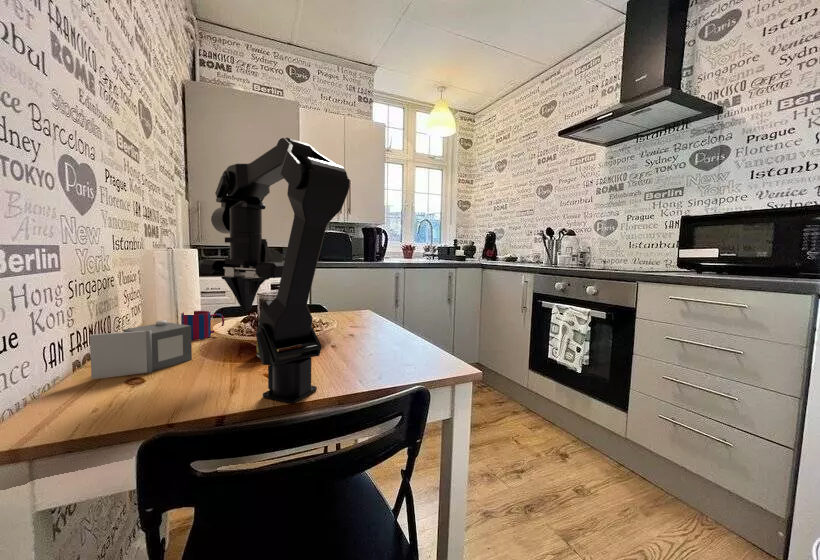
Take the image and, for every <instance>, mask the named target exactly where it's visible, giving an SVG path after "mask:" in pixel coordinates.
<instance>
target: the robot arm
mask: <svg viewBox="0 0 820 560" xmlns="http://www.w3.org/2000/svg"><path fill="white" fill-rule="evenodd" d="M283 179H284V180H285V182H286V183H287V184H288V185H287V197H288V200H289V203H290V205H291V208H292V211H293V221H292V225H291V230H290V234H289V239H288V244H287V249H286V253H285V255H284V254H282V253H281V252H279V251H277V250H275V249H273V248H271V247H270V248H269V247H268V240H267V239H266V238H263V231H262V230H263V226H262V225H263V224H262V223H263V220H262V216H263V215H262V212H263V210H266V205H265V204H264V202H263V200H264V199H265V198H266V196H268V195H269V194H270V193H271V192H270V191H271V190H270V188H271V186H272V185H275V184H276V183H278V182H280V181H282V180H283ZM350 184H351V181H350V178H349V177H348V173H347V171H346V169H345V167H343V166H342V165H340V164H336V163H335V162H334V161H332V160H330V159H329V158H327V157H326V156H324V155H322V154H321V153H319V152H318V151H317V150H316V149H315V148H314V147H313V146H311V145H310V144H309V143H307V142H303V141H300V140H297V139H294V138H291V137H282V138H279V140H278V141H277V143H276V145H275V146H274V147H272V148H271V149H269V150H267V151H266V152H264V153H262V155H260V156H258V157H257V158H255V160H253V161H251V162H249V163H234V164H231V165H228V166H227V168H226V169H225V170H224V171H223V172H222V175H221V176H220V179H219V182H218V184H217V186H216V189H215V193H214V194H215V197H216V199H215V201H216V203H220V207H218V208H216V209H215V210H214V211H213V213H212V215H211V218H210V221H211V224H212V226H213V228H214V229H215V230H216V231H217V232H219V233H222V234H228V235H229V236H228V237H224V243H226V244H227V243H228V244H229V258H224V259H222V258H220V259H213V258H212V259H203V260H202V261H201V263H200V265H199V267H200V268H199V269H200V274H207V275H212V274H214V273H215V274H216V273H217V274H218V273H224V275H223V276H221V277H220V278H221V280H224V281H225V283H226V284H227V286H228V287H229V289H230V290H231V292H232V294H233V296H234V297H235V299H236V301H237V302H238V304H239V306H240V308H241V310H242V311H243V312H250V311H251V309H252V306H253V304H254V301H255V299H256V295H257V293H258V290H259V289H260V287H261V285H262V284H263V283H265V281H266V280H267V281H268V280H270V279H279V278H280V281H279V286H278V289H277V290H278V291H277V294H276V297H275V298H274V299H273V300H267V301H266V300H265V301H264V302H263V303H262V304H261V309H260V316H259V319H258V320H257V322H258V324H257V327H256V330H255V331H256V332H255V337H256V345H257V344H258V350H259V356H260V358H259V359H260V361H261V365H262V366H268V367H267V374H268V376H267V383H268V384H267V388H268V390H267V391H265V392H262V397H263V398H266V399H271V400H272V399H273V400H276V401H280V402H284V403H289V404H294V403H295V404H296V403H297V402H299V401H300V400H302V399H304V398H305V397H307V396H308V395H310V394H312V393H313V392H315V391H316V390H317V389H318V387H317V386H316V385H312V358H314V357H320V355H321V350H322V344H321V342H320V340H319V338H318V335H317V334H316V332H315V330H314V327H313V326H312V325H313V320H314V319H313V316H312V313H311V311H310V309H309V307H308V301H309V298H310V293H311V290H312V285H313V282H314V277H315V273H316V270H317V269H316V268H317V265H318V263H319V262H318V261H319V258H320V254H321V250H322V247H323V246H322V245H323V241H324V238H325V233H326V229H327V226H328V224H329V223H330V222H331V221H332V220H333V219H335V217H336V216H337V215H338V214H339V213H340V212H341V210H342V208H343V206H344V203H345V201H346V199H347V196H348V194H349V190H350V186H351V185H350ZM284 256H285V257H284ZM283 260H284V262H283ZM297 346H299V347H297ZM292 347H295V348H292ZM287 348H290V349H287ZM278 349H279V352H278V351H277V350H278ZM283 349H285V350H283Z"/></svg>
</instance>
